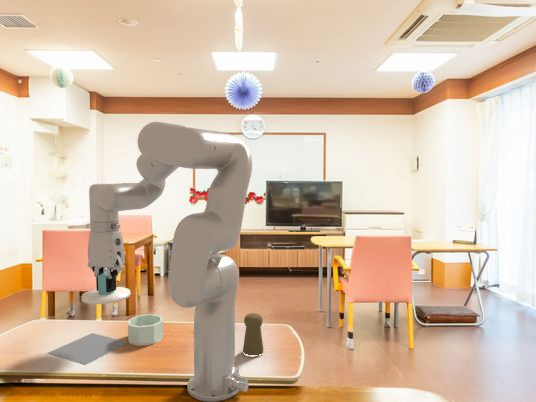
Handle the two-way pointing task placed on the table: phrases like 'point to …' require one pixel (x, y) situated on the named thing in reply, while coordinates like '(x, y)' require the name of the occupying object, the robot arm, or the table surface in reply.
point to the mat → (88, 348)
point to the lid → (105, 293)
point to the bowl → (145, 329)
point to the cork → (253, 334)
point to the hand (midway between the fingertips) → (106, 289)
